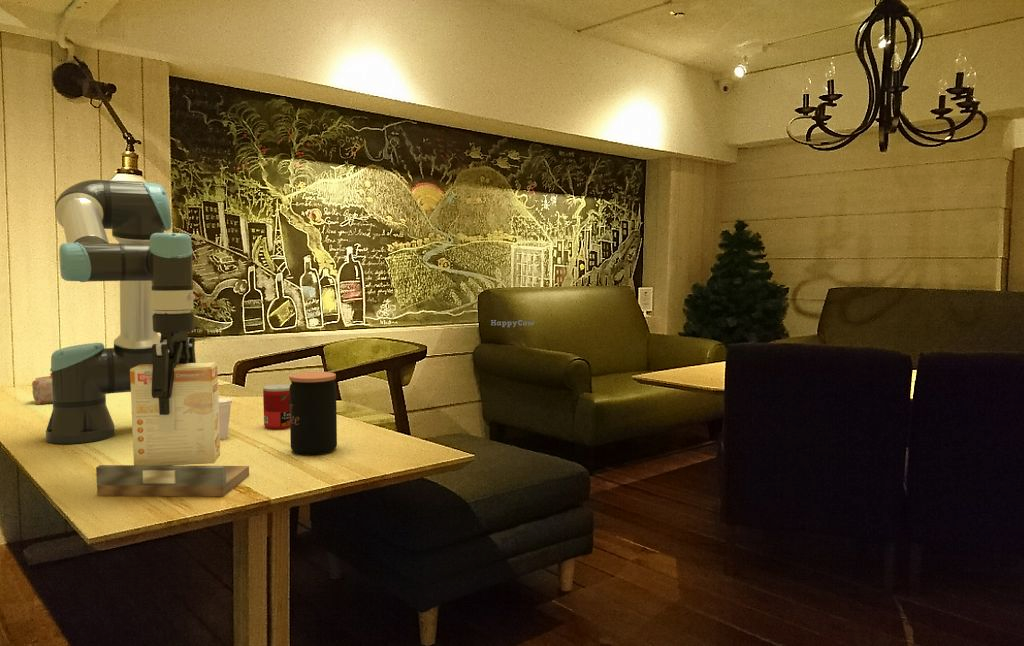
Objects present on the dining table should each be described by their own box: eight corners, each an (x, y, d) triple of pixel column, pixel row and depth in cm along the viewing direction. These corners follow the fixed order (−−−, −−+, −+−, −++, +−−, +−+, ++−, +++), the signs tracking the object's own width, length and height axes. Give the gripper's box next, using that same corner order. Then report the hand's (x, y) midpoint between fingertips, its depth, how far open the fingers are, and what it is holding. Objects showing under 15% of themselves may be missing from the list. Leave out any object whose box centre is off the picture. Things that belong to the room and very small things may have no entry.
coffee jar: (295, 445, 183) (294, 371, 181) (340, 444, 184) (339, 371, 182) (286, 456, 172) (284, 378, 171) (333, 455, 173) (332, 378, 172)
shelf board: (96, 496, 143) (94, 467, 142) (134, 474, 157) (133, 448, 157) (222, 496, 143) (221, 468, 142) (249, 475, 157) (248, 449, 157)
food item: (33, 406, 230) (32, 374, 230) (32, 402, 237) (31, 371, 236) (84, 401, 238) (83, 370, 237) (82, 398, 245) (80, 367, 244)
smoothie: (226, 433, 195) (225, 380, 193) (237, 438, 190) (236, 383, 189) (201, 437, 190) (200, 382, 189) (212, 442, 185) (210, 386, 184)
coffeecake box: (221, 455, 156) (218, 361, 154) (215, 464, 149) (212, 366, 147) (142, 458, 153) (139, 363, 151) (132, 468, 146) (129, 368, 144)
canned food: (285, 430, 198) (285, 389, 198) (258, 429, 200) (257, 388, 199) (299, 424, 206) (299, 384, 205) (273, 423, 207) (272, 383, 207)
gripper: (168, 315, 138) (172, 437, 140) (213, 308, 159) (216, 415, 160) (127, 315, 138) (132, 437, 140) (177, 308, 159) (181, 415, 160)
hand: (177, 425), depth 150 cm, fingers closed on coffeecake box, 8 cm apart
